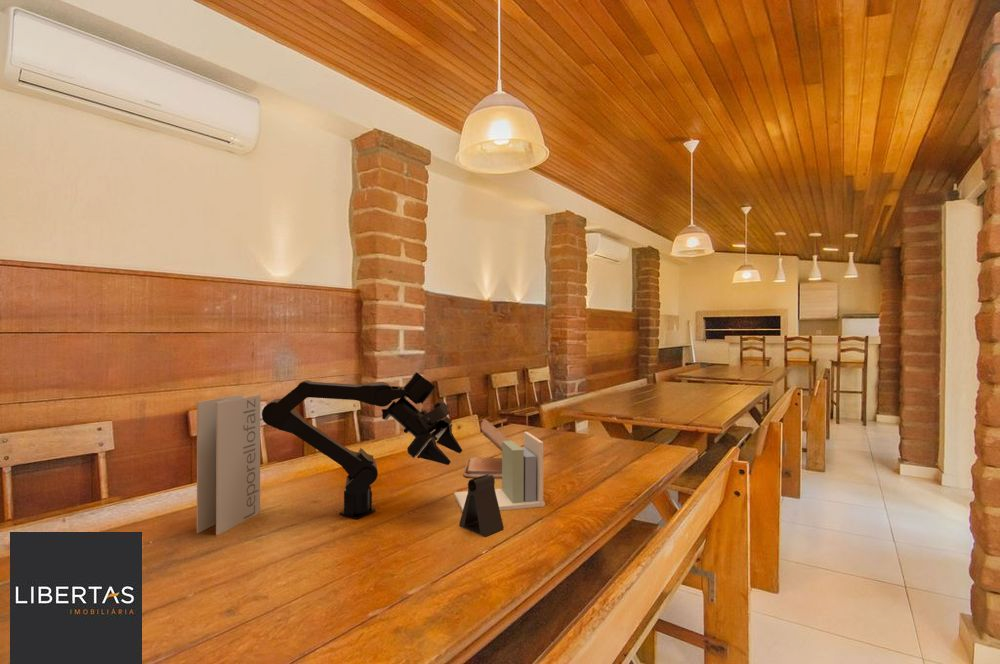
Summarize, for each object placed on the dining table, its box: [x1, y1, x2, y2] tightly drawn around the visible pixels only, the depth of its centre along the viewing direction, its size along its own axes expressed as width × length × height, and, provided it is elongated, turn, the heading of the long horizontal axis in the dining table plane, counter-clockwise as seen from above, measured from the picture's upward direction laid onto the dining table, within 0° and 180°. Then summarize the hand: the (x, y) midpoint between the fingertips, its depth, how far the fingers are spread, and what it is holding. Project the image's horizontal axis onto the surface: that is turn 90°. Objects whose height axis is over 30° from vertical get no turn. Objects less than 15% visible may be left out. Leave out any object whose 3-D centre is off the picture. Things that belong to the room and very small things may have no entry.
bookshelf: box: [453, 431, 546, 512], centre depth 133 cm, size 22×14×17 cm, turn 105°
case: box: [462, 418, 511, 479], centre depth 163 cm, size 20×21×16 cm
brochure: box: [196, 393, 261, 536], centre depth 117 cm, size 14×6×30 cm, turn 168°
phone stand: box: [458, 474, 505, 538], centre depth 115 cm, size 9×6×12 cm, turn 46°
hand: (455, 457), depth 124 cm, fingers open, 9 cm apart
